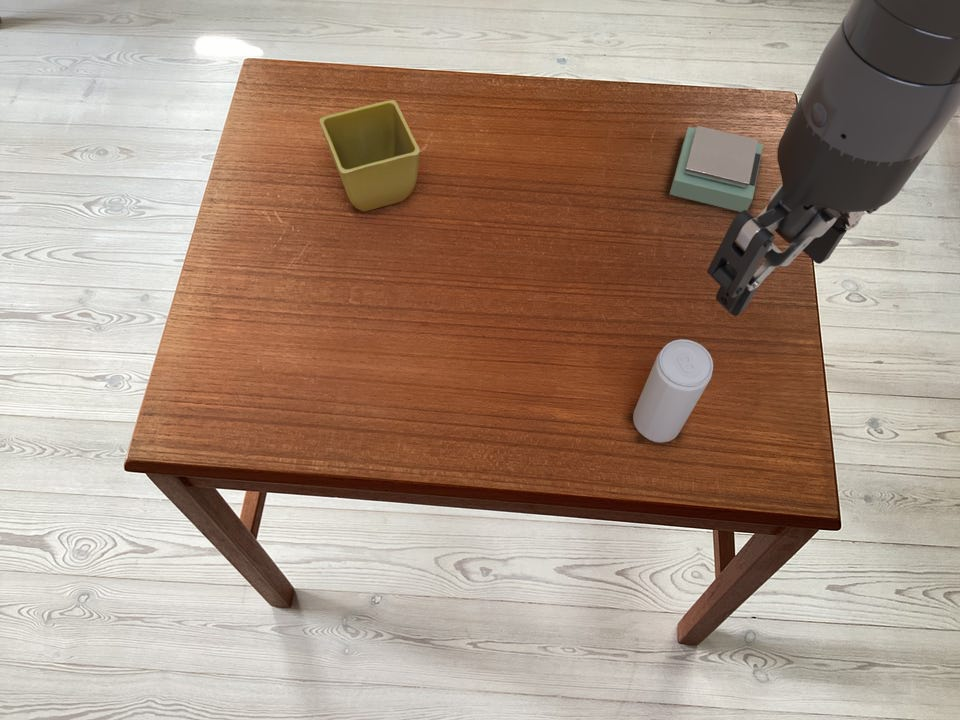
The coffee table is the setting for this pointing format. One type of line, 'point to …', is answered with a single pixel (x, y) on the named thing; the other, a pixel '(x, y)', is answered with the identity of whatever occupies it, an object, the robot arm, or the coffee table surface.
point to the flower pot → (373, 154)
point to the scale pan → (721, 156)
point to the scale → (712, 182)
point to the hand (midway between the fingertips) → (771, 279)
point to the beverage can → (672, 389)
